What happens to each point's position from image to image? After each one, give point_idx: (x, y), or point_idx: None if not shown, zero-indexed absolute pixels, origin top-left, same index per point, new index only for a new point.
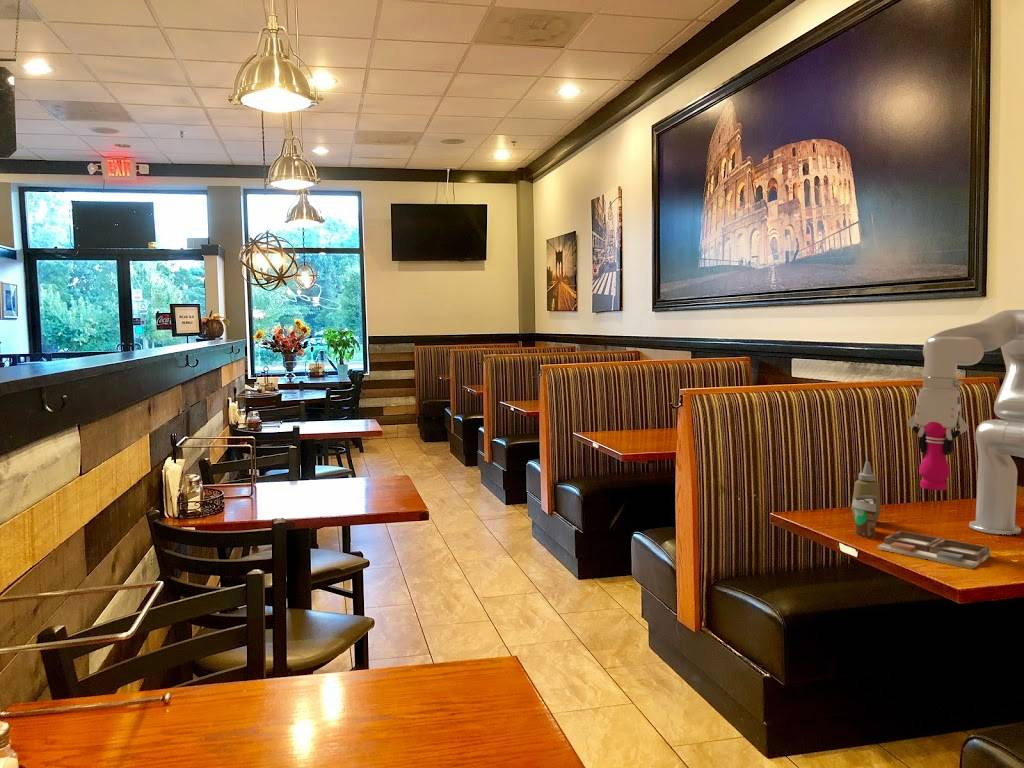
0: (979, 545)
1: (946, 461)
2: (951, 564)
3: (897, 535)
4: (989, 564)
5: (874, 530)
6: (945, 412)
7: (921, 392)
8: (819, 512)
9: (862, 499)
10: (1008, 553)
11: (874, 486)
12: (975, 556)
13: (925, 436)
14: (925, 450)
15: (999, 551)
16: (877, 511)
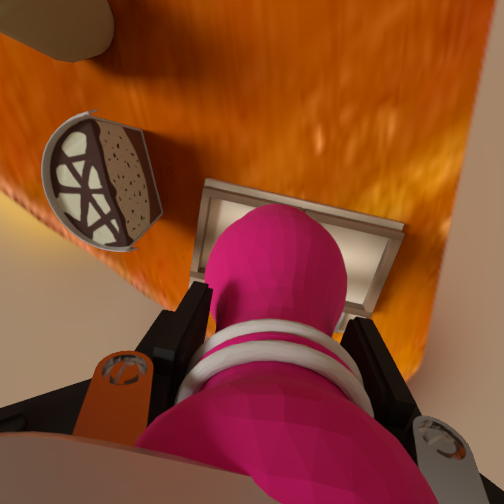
0: (384, 231)
1: (336, 324)
2: None
3: (206, 220)
4: (391, 284)
5: (154, 221)
6: None
7: None
8: None
9: (60, 155)
10: (446, 167)
11: (26, 3)
12: (368, 317)
13: (166, 407)
14: (206, 325)
15: (428, 159)
16: (101, 32)
